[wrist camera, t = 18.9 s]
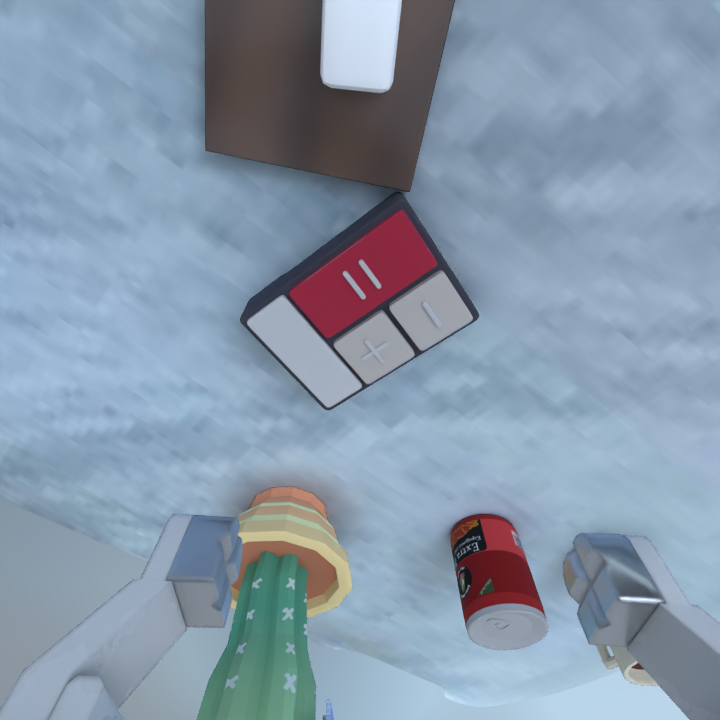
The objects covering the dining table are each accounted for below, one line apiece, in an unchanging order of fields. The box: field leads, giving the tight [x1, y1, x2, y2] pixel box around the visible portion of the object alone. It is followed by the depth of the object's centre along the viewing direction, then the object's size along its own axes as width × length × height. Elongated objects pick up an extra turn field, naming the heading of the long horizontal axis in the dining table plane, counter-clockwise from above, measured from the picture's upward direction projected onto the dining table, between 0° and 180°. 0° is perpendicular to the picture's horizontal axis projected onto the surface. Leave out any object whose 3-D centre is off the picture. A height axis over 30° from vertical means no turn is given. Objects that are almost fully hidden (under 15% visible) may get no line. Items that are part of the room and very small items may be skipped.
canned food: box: [451, 514, 548, 650], centre depth 47 cm, size 8×8×11 cm
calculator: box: [240, 192, 479, 410], centre depth 34 cm, size 11×4×15 cm
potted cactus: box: [197, 487, 352, 720], centre depth 39 cm, size 15×15×25 cm
